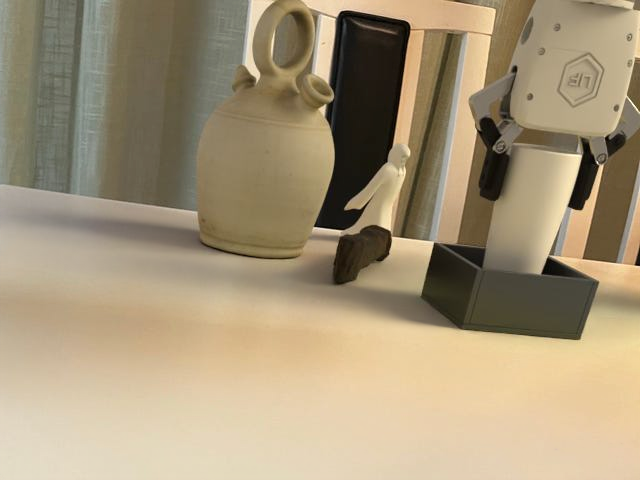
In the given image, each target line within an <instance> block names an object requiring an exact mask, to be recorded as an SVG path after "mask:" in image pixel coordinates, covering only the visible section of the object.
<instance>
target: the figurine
mask: <svg viewBox="0 0 640 480" xmlns="http://www.w3.org/2000/svg"><path fill="white" fill-rule="evenodd" d="M410 156H411V149H410V148H409V146H408V145H407V144H405V143H402V142H398V143H396V144H394V145H393V146H392V148H391V149H390V150H389V153H388V155H387V162H385V163H384V164H383V165H382V166H381V168H380V169H379V170H378V171H377V172H376V173H375V175H374V176H373V177H372V179H371V180H370V181H369V182H368V184H367V185H366V186H365V187H364V188H363V189H362V190H361V191H360V192H359V193H357V194H356V195H355V196H354V197H352V198H351V199H350V200H349V201H348V202H347V203H346V205H345V207H344V208H343V210H344V211H348V210H353V209H355V210H361V209H362V208H363V207H364V206H365V205H366V204H367V203H368V204H367V205H366V207H364V210H363V212H362V214H361V216H360V217H359V218H358V220H357V221H356V222H355V223H354V224H353V225H352V226H351V227H348V228H346V229H344V230H342V231H340V233H339V234H340V236H344V235H346V234H350V235H353V234H356V233H359V232H360V230H361V229H362V228H364V227H366V226H369V225H378V226H380V227H383V228H385V229H388V230H389V231H391V229H392V214H393V213H392V212H393V206H394V203H395V202H396V200H397V198H398V196H399V194H400V191H401V190H402V187H403V183H404V181H405V179H406V174H407V170H406V163H407V162H408V159H409V158H410ZM391 232H392V231H391Z"/></svg>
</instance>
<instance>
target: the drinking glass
mask: <svg viewBox="0 0 640 480" xmlns="http://www.w3.org/2000/svg"><path fill="white" fill-rule="evenodd" d="M506 154H508V155H509V157H510V159H509V163H508V167H507V170H506V174H505V178H504V182H503V185H502V189H501V193H500V196H499V199H498V200H496V201H493V207H492V213H491V219H490V224H489V230H488V234H487V240H486V246H485V247H486V250H485V255H484V261H483V266H482V269H493V270H502V271H512V272H522V273H532V274H541V273H542V270H543V268H544V265H545V263H546V260H547V258H548V256H550V252H551V250H552V247H553V245H554V242H555V239H556V237H557V235H558V232H559V230H560V227H561V224H562V222H563V219H564V217H565V213H566V211H567V209H568V207H567V206H568V204H569V201H570V198H571V195H572V192H573V189H574V185H575V182H576V179H577V175H578V171H579V167H580V163H581V159H582V154H581V152H578V151H573V150H570V149H566V148H565V149H564V148H558V147H553V146H547V145H541V144H540V145H539V144H533V143H532V144H531V143H523V142H522V143H521V142H512V143H511V144H510V146H509V147H508V149H507V152H506Z"/></svg>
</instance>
